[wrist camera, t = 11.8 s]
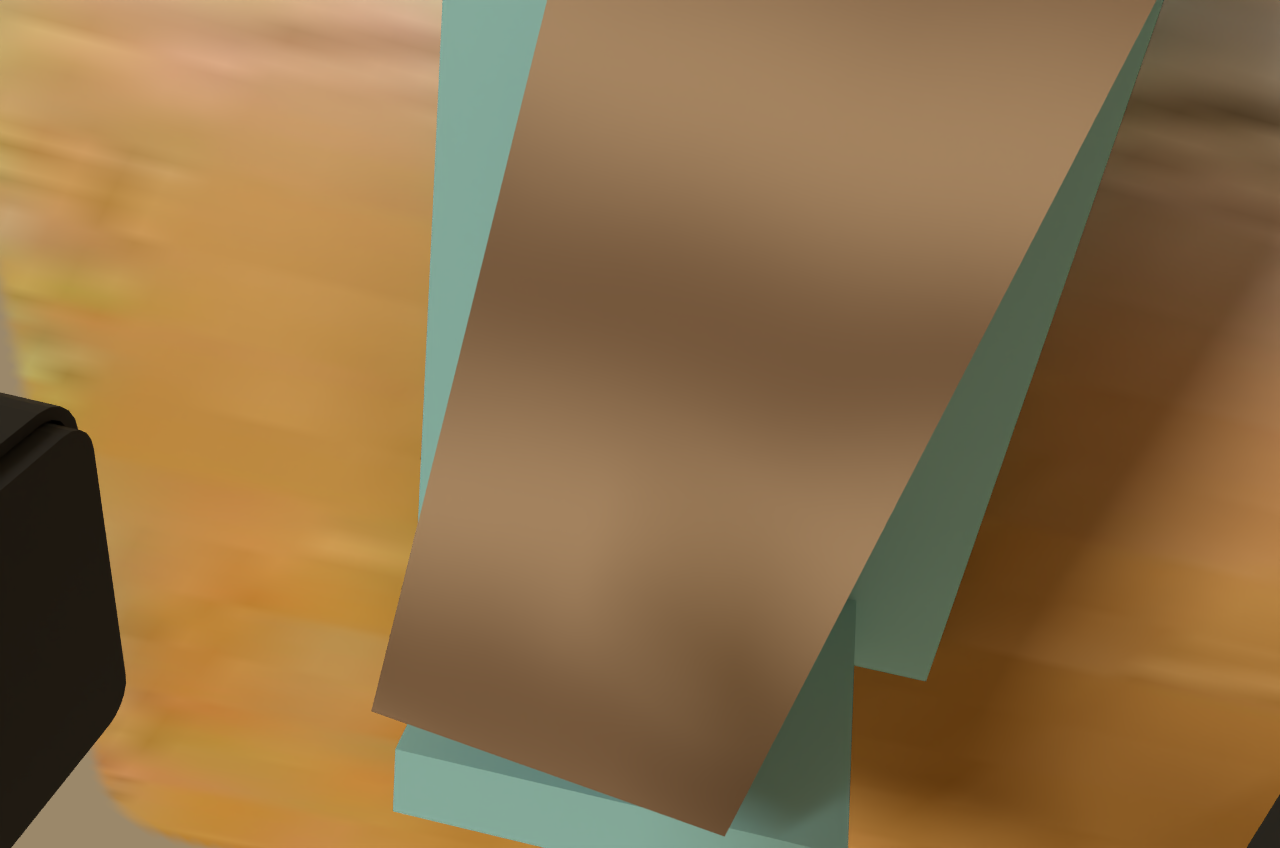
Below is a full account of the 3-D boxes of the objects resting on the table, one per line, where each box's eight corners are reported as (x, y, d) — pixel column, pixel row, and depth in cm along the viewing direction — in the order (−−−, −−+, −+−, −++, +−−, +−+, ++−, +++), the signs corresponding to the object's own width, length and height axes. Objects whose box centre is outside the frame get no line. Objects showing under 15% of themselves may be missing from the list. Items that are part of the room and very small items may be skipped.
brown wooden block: (753, 635, 23) (725, 837, 19) (465, 532, 23) (371, 711, 19) (1179, -269, 15) (1295, -271, 11) (730, -429, 15) (668, -492, 11)
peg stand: (494, -652, 18) (244, -897, 11) (1333, -540, 17) (1646, -730, 10) (430, 542, 29) (288, 793, 22) (924, 652, 28) (937, 950, 21)
